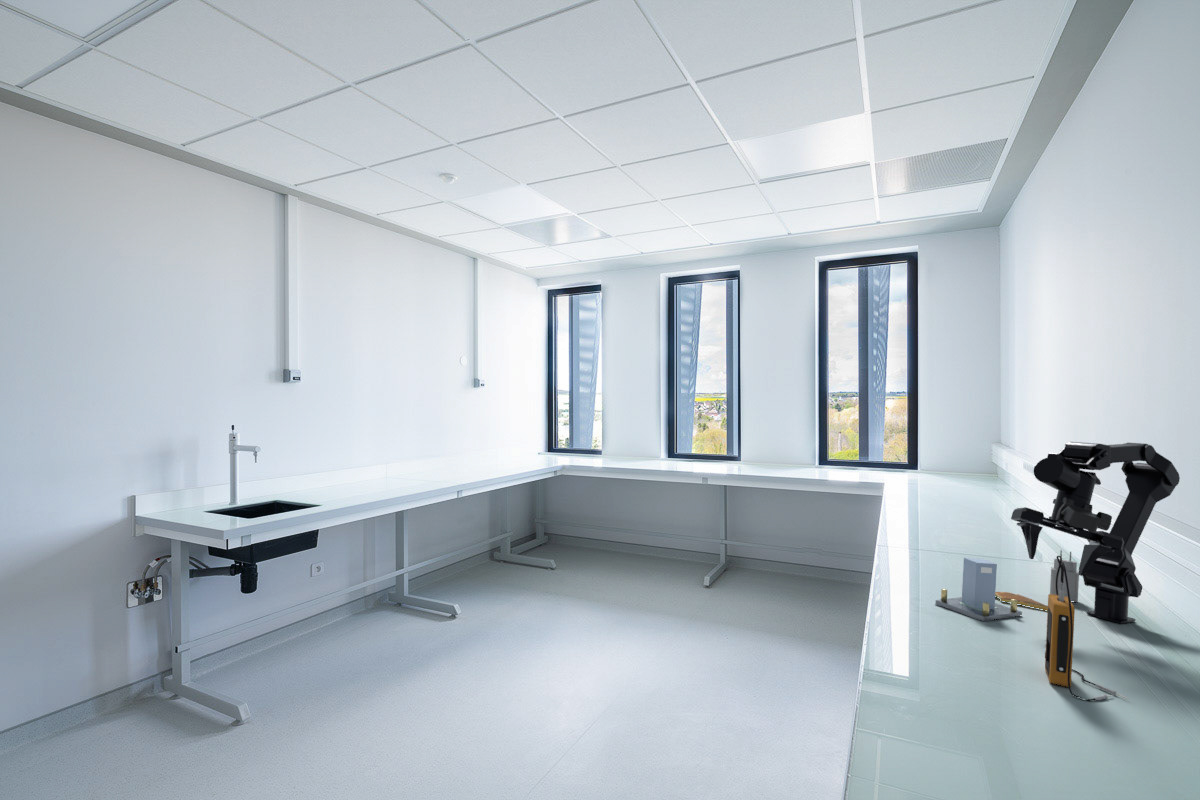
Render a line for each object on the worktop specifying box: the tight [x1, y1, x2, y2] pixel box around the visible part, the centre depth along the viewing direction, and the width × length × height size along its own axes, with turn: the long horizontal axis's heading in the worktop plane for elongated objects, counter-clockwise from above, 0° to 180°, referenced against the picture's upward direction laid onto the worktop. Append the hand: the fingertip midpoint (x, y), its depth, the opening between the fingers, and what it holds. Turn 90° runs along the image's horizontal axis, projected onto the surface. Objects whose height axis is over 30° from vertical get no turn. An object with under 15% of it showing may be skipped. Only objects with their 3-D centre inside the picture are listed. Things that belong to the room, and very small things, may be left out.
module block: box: [961, 557, 998, 609], centre depth 132 cm, size 4×5×10 cm
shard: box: [995, 591, 1048, 612], centre depth 138 cm, size 11×8×2 cm
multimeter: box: [1044, 555, 1129, 701], centre depth 95 cm, size 15×10×20 cm
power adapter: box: [1049, 549, 1080, 603], centre depth 145 cm, size 3×5×12 cm, turn 51°
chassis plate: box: [935, 588, 1023, 622], centre depth 132 cm, size 13×11×4 cm
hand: (1055, 567), depth 125 cm, fingers open, 9 cm apart
